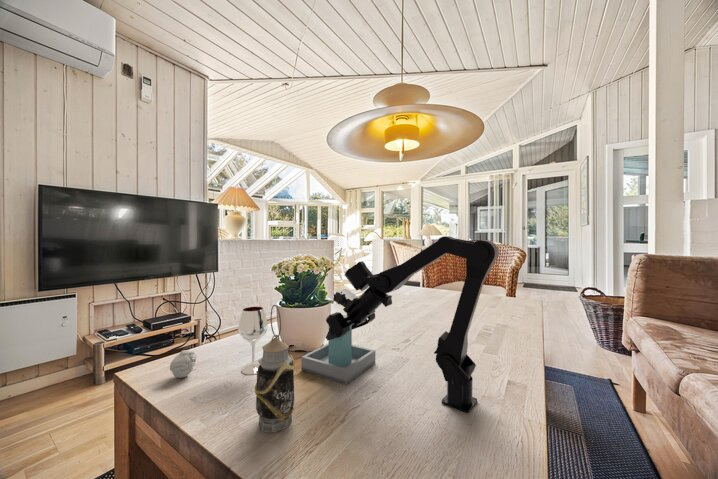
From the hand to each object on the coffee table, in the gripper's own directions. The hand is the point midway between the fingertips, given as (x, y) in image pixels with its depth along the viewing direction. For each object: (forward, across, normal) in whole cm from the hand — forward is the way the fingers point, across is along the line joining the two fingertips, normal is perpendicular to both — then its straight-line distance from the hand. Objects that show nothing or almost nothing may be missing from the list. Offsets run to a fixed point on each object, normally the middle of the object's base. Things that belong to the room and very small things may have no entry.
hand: (336, 334), depth 89 cm
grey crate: (+6, 0, +8) cm, 10 cm away
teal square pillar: (+5, 0, +7) cm, 9 cm away
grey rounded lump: (+30, +29, -16) cm, 44 cm away
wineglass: (+20, +15, -7) cm, 26 cm away
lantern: (+3, +29, +11) cm, 31 cm away
